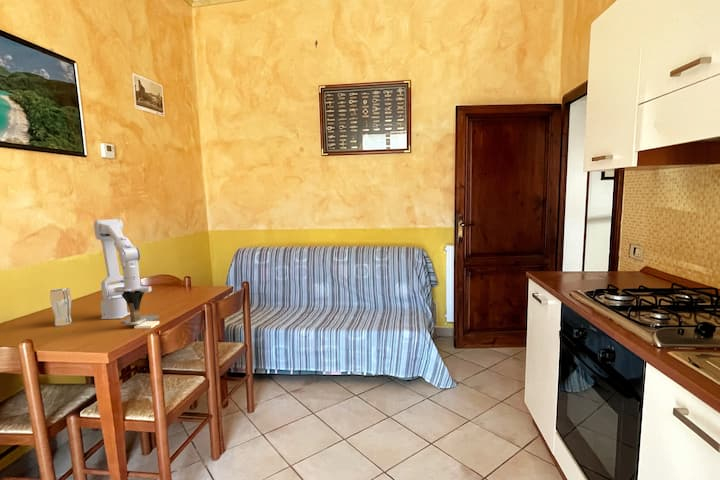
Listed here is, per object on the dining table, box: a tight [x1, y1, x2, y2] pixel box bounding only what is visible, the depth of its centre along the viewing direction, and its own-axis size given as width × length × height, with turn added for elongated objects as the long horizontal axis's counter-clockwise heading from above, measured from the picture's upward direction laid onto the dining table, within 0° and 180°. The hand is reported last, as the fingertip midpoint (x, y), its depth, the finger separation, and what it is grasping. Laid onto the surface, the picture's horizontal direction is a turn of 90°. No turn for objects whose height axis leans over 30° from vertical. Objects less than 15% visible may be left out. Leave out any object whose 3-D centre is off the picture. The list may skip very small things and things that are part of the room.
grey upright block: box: [124, 302, 146, 326], centre depth 156 cm, size 5×6×9 cm
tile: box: [133, 320, 160, 330], centre depth 157 cm, size 2×6×7 cm
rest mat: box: [120, 315, 160, 324], centre depth 165 cm, size 12×8×1 cm, turn 89°
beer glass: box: [49, 287, 73, 327], centre depth 162 cm, size 7×7×15 cm
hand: (134, 309), depth 156 cm, fingers closed on grey upright block
